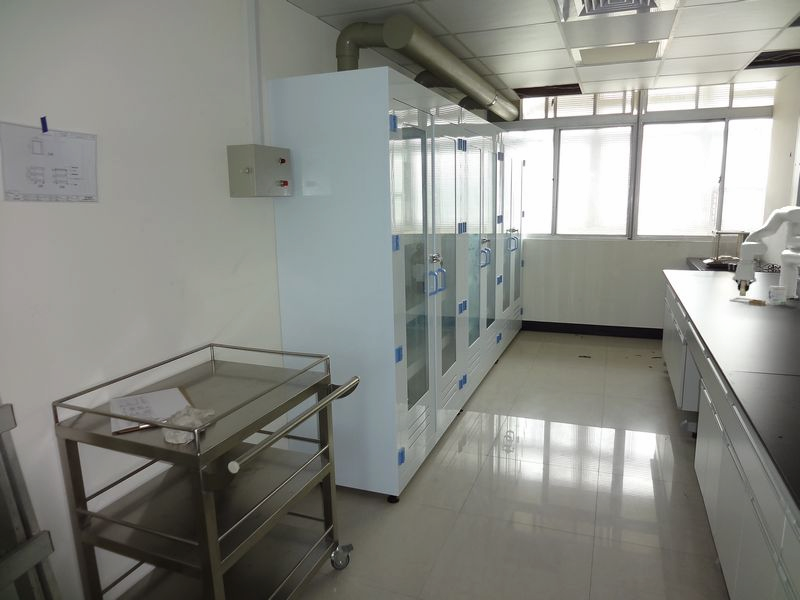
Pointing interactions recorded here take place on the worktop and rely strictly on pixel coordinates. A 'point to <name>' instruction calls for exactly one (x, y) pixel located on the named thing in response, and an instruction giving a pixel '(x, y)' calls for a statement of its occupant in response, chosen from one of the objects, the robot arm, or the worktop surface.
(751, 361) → the worktop surface
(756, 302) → the shallow wooden box
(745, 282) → the dowel
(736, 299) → the tray
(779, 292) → the ink box
